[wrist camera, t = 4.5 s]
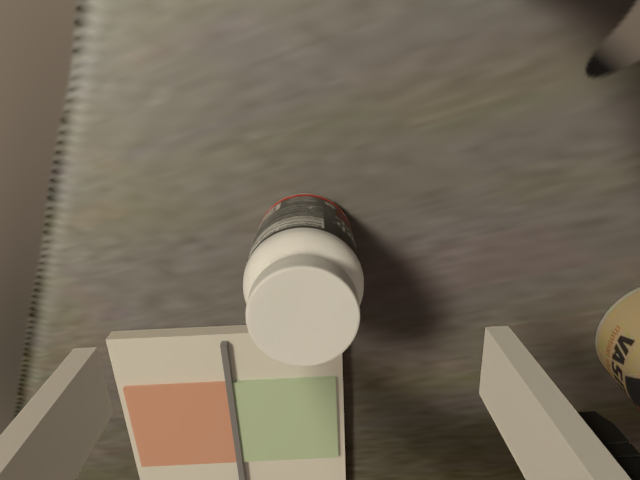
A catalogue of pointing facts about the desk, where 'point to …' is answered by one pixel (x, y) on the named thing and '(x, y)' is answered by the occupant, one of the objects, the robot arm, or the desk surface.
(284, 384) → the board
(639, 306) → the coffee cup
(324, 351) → the pill bottle
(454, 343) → the desk surface
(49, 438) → the robot arm
